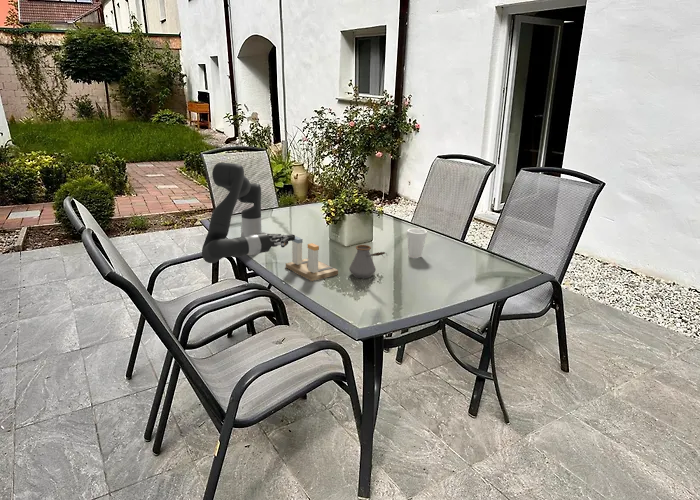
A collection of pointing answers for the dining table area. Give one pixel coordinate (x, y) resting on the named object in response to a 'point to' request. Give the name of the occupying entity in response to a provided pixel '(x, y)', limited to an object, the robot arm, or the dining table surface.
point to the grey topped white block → (297, 250)
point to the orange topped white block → (313, 258)
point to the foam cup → (416, 242)
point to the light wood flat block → (302, 270)
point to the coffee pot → (363, 262)
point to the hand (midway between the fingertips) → (293, 236)
